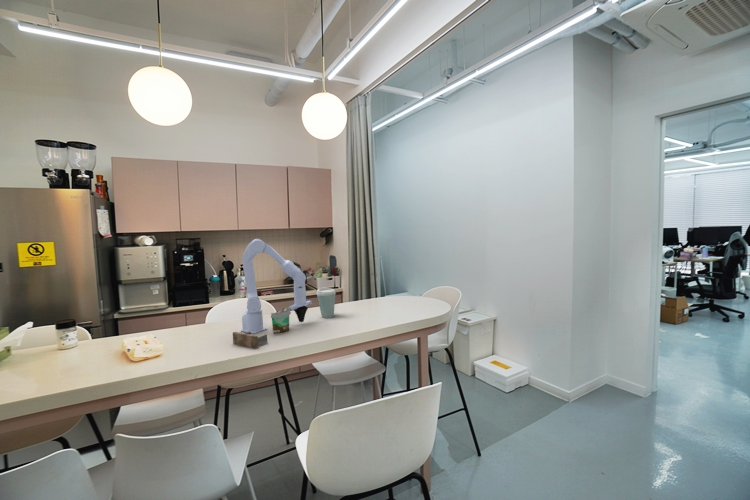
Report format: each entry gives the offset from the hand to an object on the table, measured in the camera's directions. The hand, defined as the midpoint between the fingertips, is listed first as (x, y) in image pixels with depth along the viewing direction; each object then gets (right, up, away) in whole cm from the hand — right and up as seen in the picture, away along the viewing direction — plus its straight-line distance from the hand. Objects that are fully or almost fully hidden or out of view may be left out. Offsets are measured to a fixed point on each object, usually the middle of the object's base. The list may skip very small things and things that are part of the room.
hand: (301, 321), depth 168 cm
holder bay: (-15, -4, -27) cm, 31 cm away
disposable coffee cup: (+11, 0, +13) cm, 17 cm away
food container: (-6, -3, -10) cm, 12 cm away
